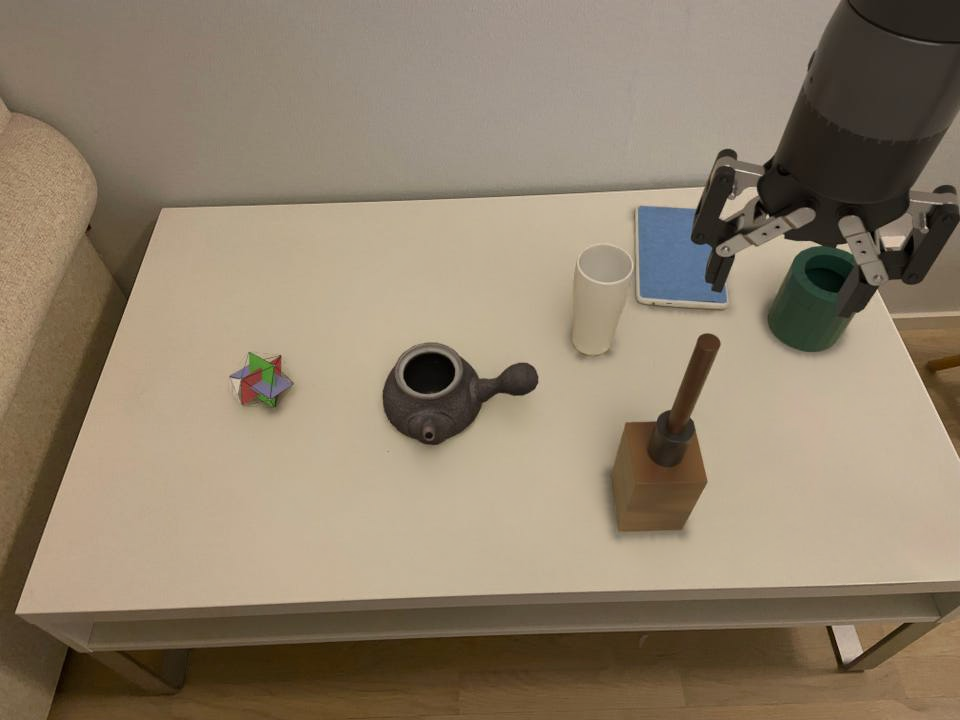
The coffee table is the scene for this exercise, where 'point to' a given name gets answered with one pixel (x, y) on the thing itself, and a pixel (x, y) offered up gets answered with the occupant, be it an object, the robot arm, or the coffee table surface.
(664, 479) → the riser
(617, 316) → the white tall cup
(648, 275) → the tablet
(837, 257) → the green hollow cylinder
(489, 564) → the coffee table surface
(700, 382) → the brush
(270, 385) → the geometric puzzle
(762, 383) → the coffee table surface
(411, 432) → the teapot
